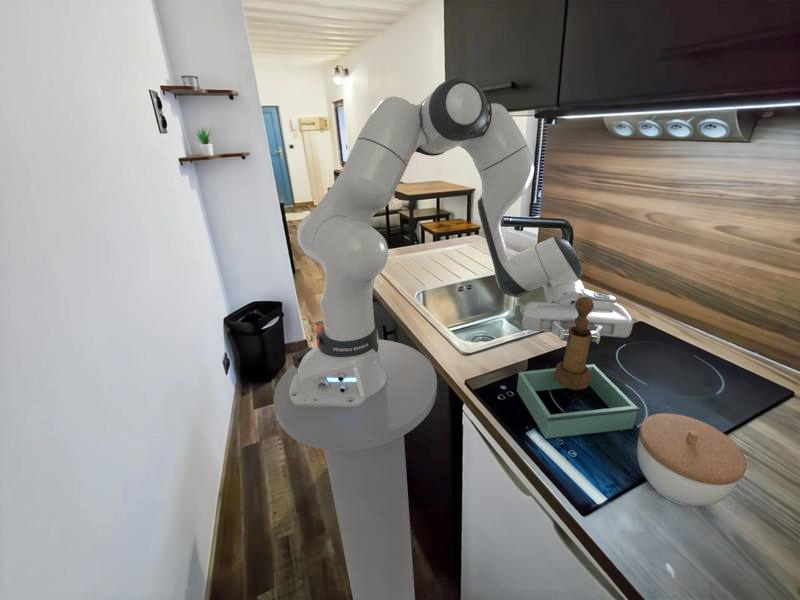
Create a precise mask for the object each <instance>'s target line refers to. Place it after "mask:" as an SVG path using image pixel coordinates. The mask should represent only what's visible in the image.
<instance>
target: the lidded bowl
mask: <svg viewBox="0 0 800 600" xmlns="http://www.w3.org/2000/svg"><path fill="white" fill-rule="evenodd" d="M636 458H637V463H638V466H639V469H640V471H641V473H642V475H643V476H644V478H645V479H646V481H648V483H649V484H650V485H651V487H652V488H653V489H654V490H655V492H657V493H658V494H660V496H662V497H663V498H664V499H666V500H668V501H670V502H672V503H674V504H677V505H679V506H685V507H708V506H713V505H715V504H718V503H720V502H722V501H724V500H725V499H726V498H727V497H729V496H730V494H732V493H733V491H734V490H735V489H736V488H737V486H738V484H739V482H740V480H741V479H742V478H743V477H744V475H745V473H746V471H747V467H748V462H747V458H746V455H745V454H744V451H742V450H741V447H739V446H738V445H737V443H736V442H735V441H734V440H733V439H732V438H730V437H729V436H728V435H727V434H725V433H724V432H722V431H721V430H719V429H718V428H715V427H714V426H713V425H710V424H708V423H706V422H704V421H702V420H699V419H696V418H693V417H689V416H687V415H682V414H677V413H665V412H664V413H656V414H655V413H654V414H652V415H649V416H647V417H646V418H644V419H643V421H642V422H641V423H640V426H639V432H638V437H637V442H636Z"/></svg>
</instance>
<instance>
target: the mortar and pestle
mask: <svg viewBox="0 0 800 600" xmlns="http://www.w3.org/2000/svg"><path fill="white" fill-rule="evenodd" d="M575 307H576V310H577V312H578V317H577V318H576V319H575V326H574V327H571V328H569V333H570V336H569V341H566V344H565V345H566V346H565V350H564V351H565V352H564V356H563V360H562V361H560V362H558V363H557V364H556V366H555V368H556V369H555V375H554V377H555V380H556V381H557V382H558V383H559V384H560V385H562V386H564V387H566V388H565V389H568V390H574V391H575V390H583V389H584V390H585V389H587V388H588V387H590V386H589V384H590V380H591V371H590V369H589V368H588V367H586V366H585V365H587V360H588V355H589V349H590V345H591V343H590V340H591V335H592V333H591V331H590V330H588V329H586V327H587V325H588V323H589V321H588V320H587V315H588V314H589V313H590V312H591V311H592V309H593V307H594V303H593V301H592V299H590V298H588V297H580V298H579V299H577V301H576V303H575Z"/></svg>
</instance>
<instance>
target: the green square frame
mask: <svg viewBox="0 0 800 600" xmlns="http://www.w3.org/2000/svg"><path fill="white" fill-rule="evenodd" d="M585 366H586V367H588V368H589V369H590V371H591V380H590V384H589V386H588V387H590V388H591V389H592V390H593V391H594V393H595V394H596V395H597V396H598V397H599V398H600V399H601V400H602V402H604V404H605V405H606V406H607V408H600V409H598V408H597V409H591V410H590V409H589V410H580V411H571V412H563V413H554V414H551V413H550V411H549V410H548V408H547V407H546V405H545V404H544V403H543V400H541V398H540V397H539V395H538V394H537V392H542V391H549V390H550V391H551V390H559V389H567V388H566V387H564V386H562V385H560V384H559V383H558V382H557V381H556V380H555V377H554V375H555V369H556V367H551V368H541V369H532V370H531V369H530V370H522V371H517V385H516V392H517V394H518V395H519V397H520V399H521V400H522V402H523V403H524V405H525V407H526V408H527V411H528V412H529V413H530V415H531V417H532V418H533V420H534V422H535V424H536V425H537V427H538V428H539V430H540V432H541V434H542V435H543V437H544V439H554V438H561V437H563V438H564V437H572V436H580V435H581V436H582V435H588V434H597V433H604V432H605V433H606V432H607V433H608V432H615V431H624V430H632V429H634V425H635V421H636V417H637V415H638V412H639V411H640V407H638V406H637V405H636V404H635V403H634V402H633V401H632V400H631V399H630V398H629V397H628V396H627V395H626V394H624V393H623V391H622V390H621V389H620V388H618V386H617V385H615V383H614V382H613V381H611V379H610V378H608V377H607V376H606V374H605V373H604V372H602V371H601V370H600V368H599V367H598V366H596V363H591V364H586V365H585Z"/></svg>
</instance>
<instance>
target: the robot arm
mask: <svg viewBox="0 0 800 600" xmlns="http://www.w3.org/2000/svg"><path fill="white" fill-rule="evenodd" d="M457 147H460V148H461V149H463V150H464V151H466V153H468V154H469V156H470V157H471V158H472V161H473V163H474V166H475V168H476V170H477V172H478V174H479V178H480V180H481V194H480V196H479V197H478V198H477V211H478V215H479V219H480V222H481V227H482V230H483V234H484V237H485V241H486V244H487V247H488V248H487V249H488V251H489V254H490V258H491V261H492V265H493V268H494V276H495V277H494V278H495V281H496V284H497V286H498V288H499V290H500V291H501V293H502V294H504V295H507V296H509V297H513V298H520V297H522V296H524V295H526V294H529V293H531V291H534V290H536V289H539V288H542V287H543V295H544V299H545V301H528V302H526V303H525V304H521V305H520V306H519V311H520V313H521V314H522V319H521V320H522V322H521V327H522V328H523V329H524V330H526V331H534V332H545V333H552V334H554V335H555V336H556V337H559V340H560V341H562V342H563V341H564V342H567V341H569V336H570V333H569V328H571V327H574V326H575V319H576V318H577V317H578V312H577V310H576V307H575V303H576V301H577V299H579V298H580V297H588V298H590V299H592V301H593V303H594V307H593V309H592V311H591V312H590V313H589V314H588V315H587V320H588V321H589V323H588V325H587V327H586V329H588V330H590V331H591V333H592V335H591V340H590V344H599V343H600V340H601V337H611V338H622V339H624V338H628V337H630V335H631V333H632V330H633V325H634V320H633V318H632V316H631V315H630V314H629V312H628V311H627V310H626V308H624V306H622V305H621V304H619V303H617V298H616V297H615V296H613V295H611V294H605V293H600V292H595V291H593V290H589V289H587V288H585V286H584V284H583V282H582V280H581V278H582V275H583V271H584V270H583V267H582V263H581V261H580V259H579V257H578V255H577V254H576V251H575V250H574V248H573V246H572V245H571V243H570V242H569V240H566V239H563V238H562V237H558V236H552V237H550V238H547V239H546V240H543V241H540V242H538V243H536V244H535V245H532V246H531V247H529V248H526V249H524V250H522V251H519V252H517V253H514V254H511V253H509V251H508V248H507V243H506V239H505V237H504V233H503V230H502V219H503V217H504V216H505V214H506V213H507V211H509V209H510V208H511V207H512V206H513V205H514V204H515V203H516V202H517V201H518V200H519V199H520V198H521V197H522V196H523V194H524V193H525V192H526V191H527V189H528V187H529V186H530V185H531V182H532V180H533V177H534V174H535V164H534V161H533V160H534V159H533V156H532V154H531V151H530V149H529V146H528V144H527V142H526V139H525V138H524V135H523V133H522V132H521V130H520V128H519V126H518V125H517V123H516V121H515V119H514V118H513V117H512V115H511V114H510V112H509V111H508V110H507V108H506V107H505V106H504V105H502V104H500V103H498V102H497V103H496V102H494V103H491V101H490V99H489V98H488V97H487V96H486V95H485V93H484V91H482V89H481V88H480V87H479V85H478V84H476V83H475V82H474V81H473V80H471V79H470V78H467V77H463V76H457V77H453V78H452V77H451V78H449V79H447V80H445V81H443V82H442V83H441V84H439V85H438V86H437V87H436V88H435V89H434V90H433V91H432V92H431V93H430V94H429V95H428V96H427V97H426V98H424V100H423V101H422V102H421V103H419V104H413V103H411V102H410V101H408V100H406V99H405V98H402V97H399V96H388V97H386V98H384V99H382V100H381V101H380V102H379V103H378V105H376V107H375V109H374V110H373V111H372V112H371V114H370V115H369V117H368V118H367V120H366V121H365V123H364V125H363V127H361V130H360V132H359V134H358V135H357V138H356V140H355V142H354V144H353V146H352V149H351V151H350V152H349V155H348V156H347V159H346V161H345V162H344V165H343V167H342V169H341V171H340V173H339V174H338V176H337V178H336V179H335V181H334V182H333V184H332V185H331V186H330V188H329V189H328V191H327V192H326V193H325V195H324V196H323V197H322V199H320V201H319V202H318V204H317V205H316V206H315V208H314V209H313V210H312V211H311V212H310V213H309V214H308V215H306V216H304V217H303V218H302V219H301V221H300V222H299V224H298V226H297V231H296V239H297V243H298V245H299V248H301V250H302V251H303V253H304V254H305V255H306V256H307V258H309V259H310V260H311V261H312V262H315V263H317V264H319V265H320V266H321V268H322V269H323V272H324V279H325V280H324V281H325V282H324V291H323V293H322V294H321V296H320V299H319V305H320V306H319V307H320V311H321V312H320V313H321V318H322V319H321V320H322V323H323V324H322V323H320V324H317V326H316V330H315V333H316V336H315V340H316V345H315V346H314V347H310V346H307V347H305V348H303V349H301V350H300V351H298V352H297V353H295V354H293V355H291V357H292V363H293V365H294V367H296V368H298V372H297V373H296V374H295V376H294V377H293V379H292V382H291V385H290V390H289V395H290V400H291V402H292V404H293V405H294V406H317V407H359V406H360V405H362V404H363V403H364V402H365V400H366V399H367V398H369V397H371V396H372V395H374V394H376V393H377V392H379V391H380V390H381V389H382V388H383V387H384V385H385V383H386V380H387V376H386V373H385V371H384V369H383V366H382V364H381V360H380V356H379V352H378V346H379V340H380V339H379V331H378V328H377V324H376V323H375V316H374V301H373V293H374V286H375V281H376V278H377V277H378V276H379V275H380V274H381V273H382V272H383V270H384V268H385V267H386V264H387V262H388V258H389V247H388V243H387V241H386V239H385V237H384V236H383V235H382V234H381V232H379V231H378V230H377V229H375V228H374V227H372V226H371V225H370V224H368V223H369V221H370V220H371V219H372V218H373V217H374V216H375V215H376V214H377V213H378V212H379V211H381V210H383V209H385V208H386V207H387V206H388V205H389V204H390V203H391V201H392V199H393V197H394V195H395V193H396V191H397V188H398V187H399V185H400V183H401V181H402V179H403V176H404V174H405V172H406V170H407V167H408V166H409V164H410V161H411V159H412V156H413V155H415V154H414V153H419V154H421V155H425V156H429V157H436V156H440V155H443V154H445V153H446V152H448V151H451V150H453V149H455V148H457Z"/></svg>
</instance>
